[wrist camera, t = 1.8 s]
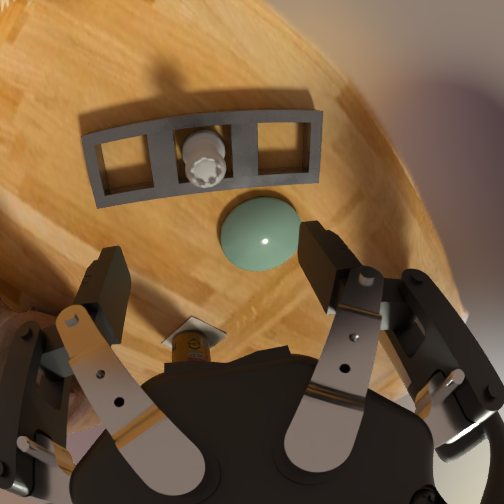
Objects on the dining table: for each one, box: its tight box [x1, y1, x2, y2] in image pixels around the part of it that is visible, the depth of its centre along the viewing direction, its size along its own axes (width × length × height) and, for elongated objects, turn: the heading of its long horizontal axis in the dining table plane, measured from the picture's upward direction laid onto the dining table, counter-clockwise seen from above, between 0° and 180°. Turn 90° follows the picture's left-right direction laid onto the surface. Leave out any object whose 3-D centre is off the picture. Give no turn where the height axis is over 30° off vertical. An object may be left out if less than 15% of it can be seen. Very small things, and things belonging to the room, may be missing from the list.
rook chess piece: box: [181, 130, 226, 188], centre depth 23 cm, size 4×4×8 cm
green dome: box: [220, 196, 301, 271], centre depth 33 cm, size 10×10×1 cm
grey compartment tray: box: [81, 108, 323, 209], centre depth 26 cm, size 24×8×2 cm, turn 91°
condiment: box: [162, 317, 228, 362], centre depth 38 cm, size 7×8×12 cm
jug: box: [0, 298, 102, 435], centre depth 27 cm, size 20×20×30 cm
